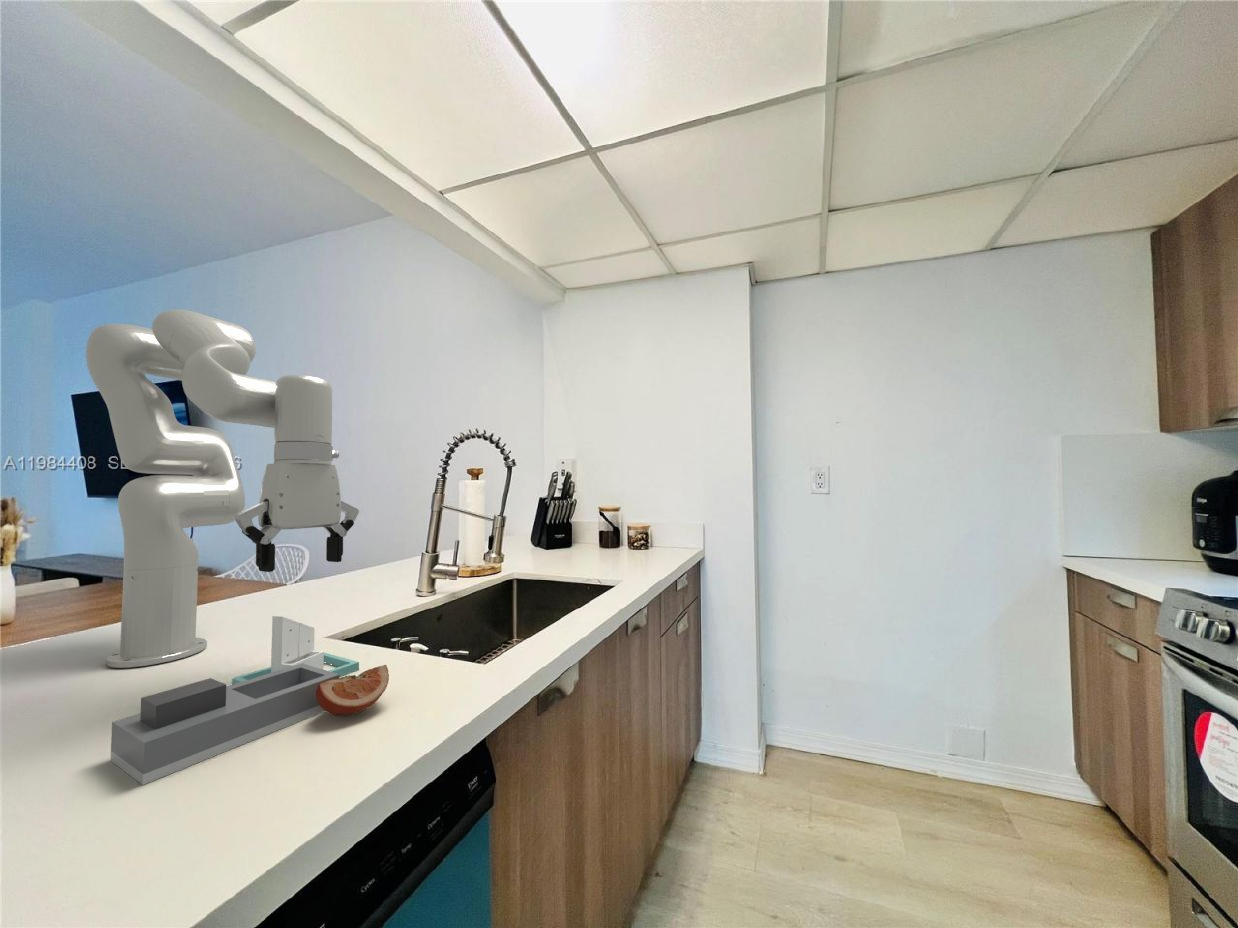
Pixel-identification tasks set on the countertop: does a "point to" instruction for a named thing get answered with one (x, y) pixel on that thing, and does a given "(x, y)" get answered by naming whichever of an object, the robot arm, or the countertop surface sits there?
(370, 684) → the fruit slice
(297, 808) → the countertop surface
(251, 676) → the tray frame
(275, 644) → the white angled block
